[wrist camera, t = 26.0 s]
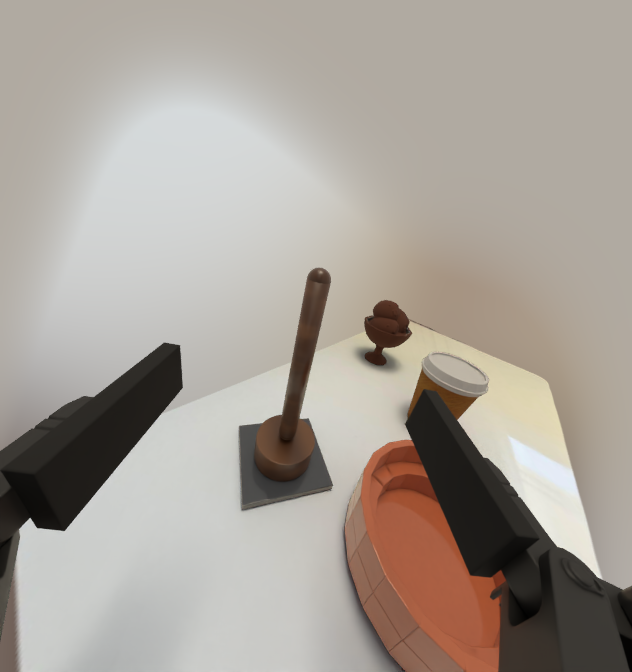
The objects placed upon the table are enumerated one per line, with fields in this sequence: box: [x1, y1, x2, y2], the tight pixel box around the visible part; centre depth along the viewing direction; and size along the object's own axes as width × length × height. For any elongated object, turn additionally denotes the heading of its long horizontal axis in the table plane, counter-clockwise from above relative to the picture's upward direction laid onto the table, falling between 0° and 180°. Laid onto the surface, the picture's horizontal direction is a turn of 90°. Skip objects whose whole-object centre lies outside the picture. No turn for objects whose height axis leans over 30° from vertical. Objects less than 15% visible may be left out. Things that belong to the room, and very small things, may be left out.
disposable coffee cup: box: [408, 352, 489, 420], centre depth 38 cm, size 10×10×12 cm
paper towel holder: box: [254, 268, 331, 481], centre depth 24 cm, size 7×7×23 cm
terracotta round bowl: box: [345, 440, 506, 672], centre depth 21 cm, size 17×17×6 cm
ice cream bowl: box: [364, 300, 412, 365], centre depth 54 cm, size 11×11×15 cm
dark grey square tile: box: [239, 419, 333, 510], centre depth 29 cm, size 10×10×1 cm
